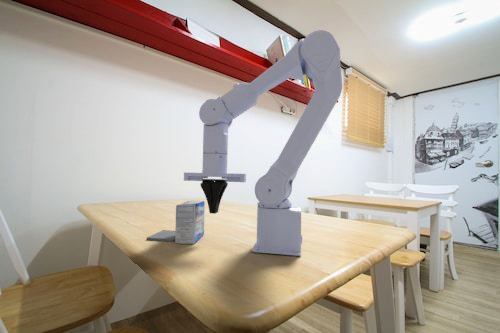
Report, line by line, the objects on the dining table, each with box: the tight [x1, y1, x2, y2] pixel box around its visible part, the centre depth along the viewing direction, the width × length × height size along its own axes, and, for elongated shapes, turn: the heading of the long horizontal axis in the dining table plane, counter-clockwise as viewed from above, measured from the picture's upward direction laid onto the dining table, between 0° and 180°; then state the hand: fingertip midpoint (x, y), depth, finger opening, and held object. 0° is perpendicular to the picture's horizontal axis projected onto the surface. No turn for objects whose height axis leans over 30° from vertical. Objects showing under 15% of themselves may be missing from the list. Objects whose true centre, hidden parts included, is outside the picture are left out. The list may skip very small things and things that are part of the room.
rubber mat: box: [146, 229, 176, 243], centre depth 55 cm, size 6×7×1 cm
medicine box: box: [174, 200, 206, 245], centre depth 53 cm, size 8×4×9 cm, turn 176°
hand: (213, 212), depth 52 cm, fingers closed
